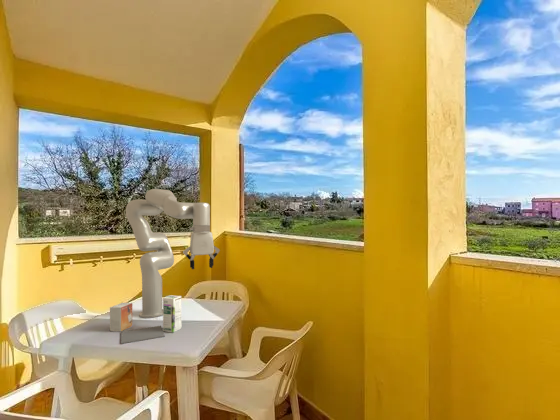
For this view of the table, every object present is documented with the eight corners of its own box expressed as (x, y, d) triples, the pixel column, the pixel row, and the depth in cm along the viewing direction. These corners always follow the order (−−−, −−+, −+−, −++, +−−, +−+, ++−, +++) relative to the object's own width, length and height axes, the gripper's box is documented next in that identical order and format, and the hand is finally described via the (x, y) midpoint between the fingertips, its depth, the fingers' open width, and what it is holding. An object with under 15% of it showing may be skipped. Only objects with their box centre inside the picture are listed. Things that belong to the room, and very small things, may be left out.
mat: (121, 332, 137) (121, 331, 137) (161, 326, 144) (161, 325, 144) (121, 344, 124) (121, 342, 124) (164, 336, 131) (164, 335, 131)
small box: (120, 332, 138) (120, 307, 138) (109, 331, 139) (109, 307, 139) (132, 326, 146) (132, 302, 146) (122, 325, 147) (122, 302, 147)
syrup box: (162, 331, 138) (162, 297, 138) (171, 327, 143) (171, 294, 144) (173, 333, 136) (173, 298, 136) (182, 328, 141) (181, 295, 142)
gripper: (183, 230, 139) (183, 271, 139) (222, 229, 147) (222, 267, 146) (180, 229, 146) (180, 268, 145) (218, 228, 153) (218, 265, 153)
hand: (201, 268), depth 146 cm, fingers open, 7 cm apart
